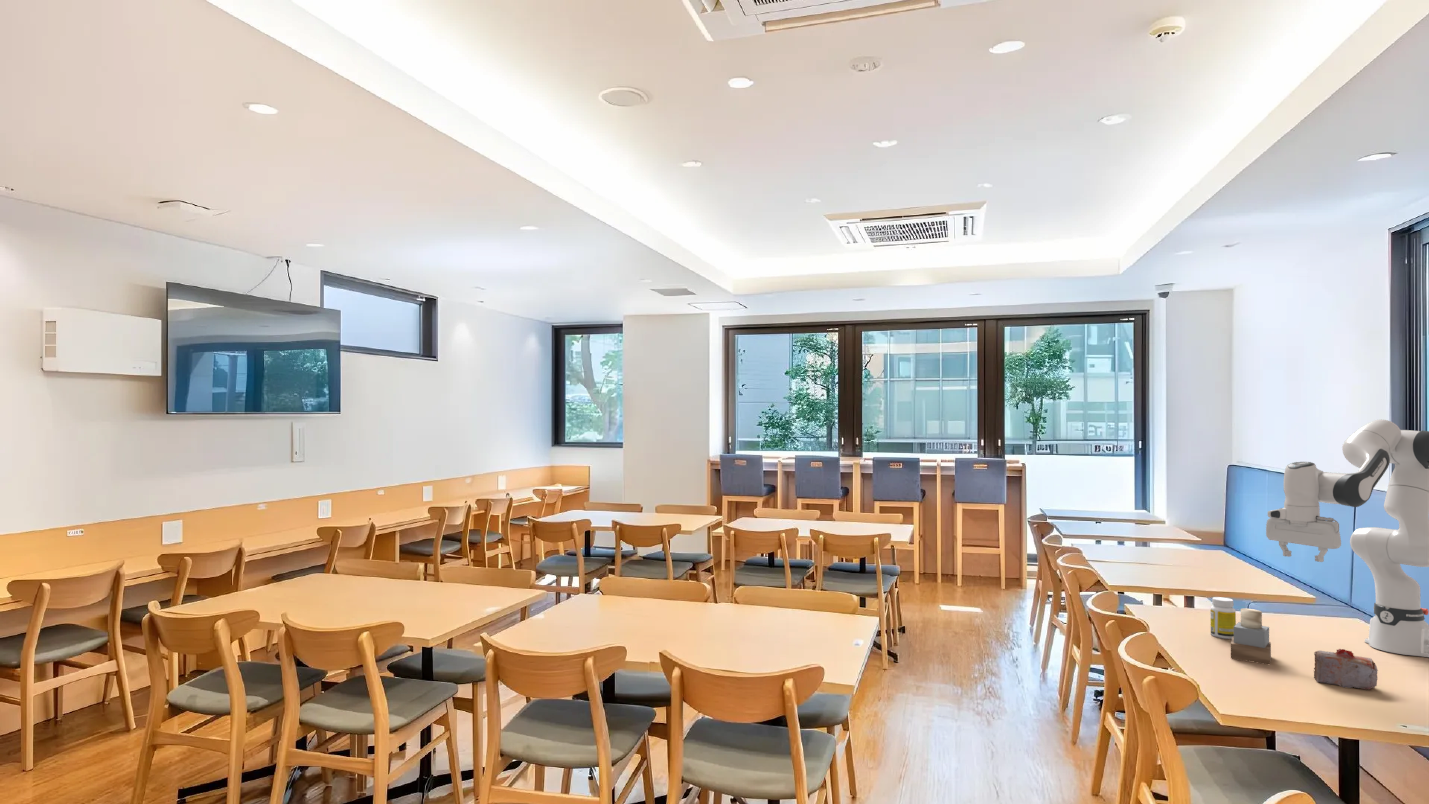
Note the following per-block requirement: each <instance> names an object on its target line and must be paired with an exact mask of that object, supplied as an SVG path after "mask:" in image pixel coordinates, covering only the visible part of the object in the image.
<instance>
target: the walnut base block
mask: <svg viewBox="0 0 1429 804" xmlns="http://www.w3.org/2000/svg"><path fill="white" fill-rule="evenodd" d="M1231 658H1232V659H1231ZM1230 659H1231V660H1237V659H1238V661H1245V662H1249V661H1254V662H1253V663H1256V662H1258V663H1257V664H1262V663H1264V664H1263V665H1268V664H1270V665H1271V661H1270V660H1271V659H1272V642H1271V641H1269V644H1268V645H1267V646H1266V647H1265V648H1261V647H1255V646H1249V645H1244V644H1238V643H1234V637H1232V639H1231V641H1230Z"/></svg>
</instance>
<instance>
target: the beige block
mask: <svg viewBox="0 0 1429 804" xmlns="http://www.w3.org/2000/svg"><path fill="white" fill-rule="evenodd" d="M1240 622H1241V626H1242V627H1246V628H1251V629H1261V628H1262V626H1263V612H1262V610H1259V609H1254V608H1240Z"/></svg>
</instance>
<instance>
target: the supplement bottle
mask: <svg viewBox="0 0 1429 804" xmlns="http://www.w3.org/2000/svg"><path fill="white" fill-rule="evenodd" d="M1211 600H1212V601H1211V603H1212V605H1211V606H1210V608H1209V609H1210V612H1209V613H1210V614H1209V615H1210V635H1211V636H1213V637H1215V638H1219V639H1224V640H1225V639H1227V640H1232V637H1234V626H1235V625H1236V624H1237V621H1236V620H1237V619H1236V617H1237V616H1236V614H1237V613H1236V612H1237V611H1236V609H1235V608H1234V600H1233V599H1232V598H1230V597H1223V596H1222V597H1220V596H1213V597H1212V598H1211Z"/></svg>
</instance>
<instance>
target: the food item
mask: <svg viewBox="0 0 1429 804" xmlns="http://www.w3.org/2000/svg"><path fill="white" fill-rule="evenodd" d="M1313 654H1314V667H1313V678H1314V679H1315V681H1316V683H1319V682H1320V684H1327V685H1332V686H1333V685H1334V686H1340V687H1342V688H1345V687H1347V688H1350V689H1351V688H1353V687H1354V689H1359V688H1362V689H1361V690H1369V691H1370V690H1372V688H1373V689H1375V688H1376V687H1377V686H1378V685H1377V684H1378V671H1379V670H1378V667H1377V664H1376V663H1375V662H1374V660H1373V659H1372V658H1371V657H1365V656H1358V655H1355V654H1354V653H1353V652H1352V650H1348V649H1347V650H1346V649H1344V648H1342V649H1341V648H1338V649H1336V652H1334V651H1325V650H1317V651H1314V652H1313Z"/></svg>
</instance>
